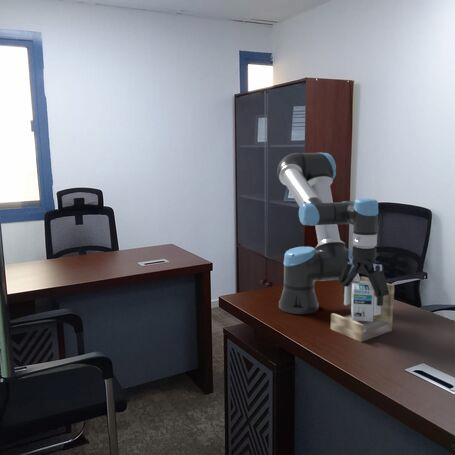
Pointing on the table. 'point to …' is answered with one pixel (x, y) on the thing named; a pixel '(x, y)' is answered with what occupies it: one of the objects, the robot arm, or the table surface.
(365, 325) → the board
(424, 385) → the table surface
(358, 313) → the light bulb box
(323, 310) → the table surface
